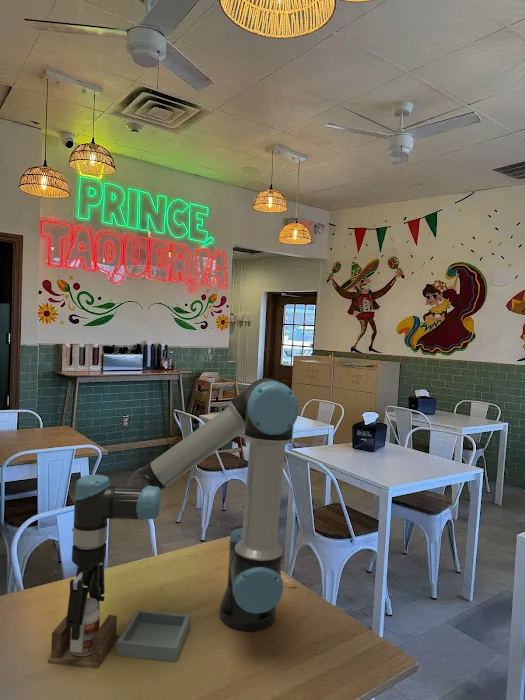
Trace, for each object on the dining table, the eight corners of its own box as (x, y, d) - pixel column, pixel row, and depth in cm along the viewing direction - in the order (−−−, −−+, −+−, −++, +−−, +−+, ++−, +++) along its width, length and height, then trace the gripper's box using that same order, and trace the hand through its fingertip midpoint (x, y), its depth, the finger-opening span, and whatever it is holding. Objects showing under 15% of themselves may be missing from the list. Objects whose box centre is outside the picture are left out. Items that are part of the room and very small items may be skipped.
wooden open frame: (117, 636, 121) (119, 612, 121) (97, 668, 109) (99, 641, 109) (72, 632, 122) (73, 607, 122) (47, 662, 110) (48, 636, 110)
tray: (189, 626, 127) (190, 615, 127) (175, 661, 113) (176, 648, 113) (136, 621, 128) (137, 609, 128) (116, 655, 114) (116, 642, 114)
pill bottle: (82, 661, 111) (85, 612, 111) (64, 651, 114) (66, 604, 114) (104, 647, 117) (106, 600, 116) (85, 638, 120) (88, 592, 119)
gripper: (93, 525, 126) (88, 614, 126) (51, 561, 105) (46, 667, 105) (121, 528, 125) (117, 616, 125) (85, 564, 104) (80, 670, 105)
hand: (84, 639), depth 115 cm, fingers open, 8 cm apart
